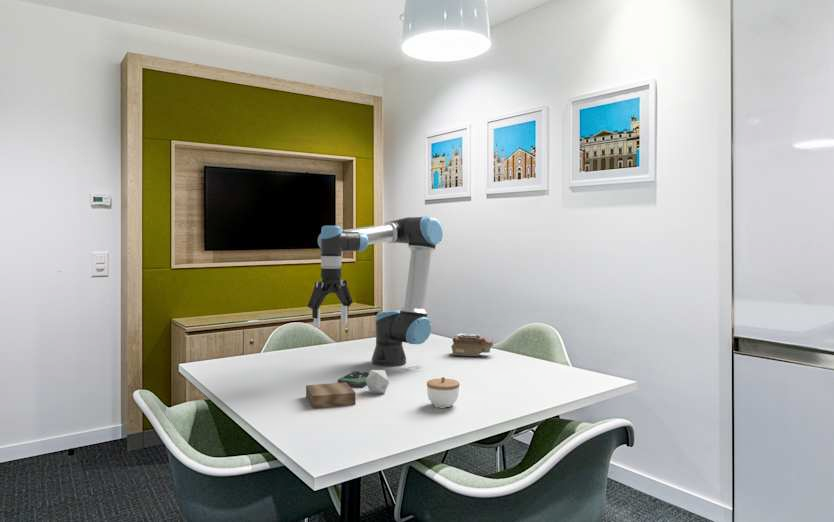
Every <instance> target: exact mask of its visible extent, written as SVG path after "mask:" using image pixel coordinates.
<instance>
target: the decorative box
mask: <svg viewBox="0 0 834 522" xmlns="http://www.w3.org/2000/svg"><path fill="white" fill-rule="evenodd" d="M452 342H453V343H452V345H451V351H452V355H453V356H461V357H462V356H463V357H479V355H480V354H483V353H491V352H490V351H491V348H492V347H493V346H494V340H493V339H488V338H487V337H486V336H482V335H481V334H479V333H469V332H466V333H458V334H456V336H455V337H453V338H452Z"/></svg>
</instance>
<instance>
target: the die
mask: <svg viewBox="0 0 834 522" xmlns="http://www.w3.org/2000/svg"><path fill="white" fill-rule="evenodd" d="M386 372H387V371H386V370H385V369H370V371H369V372H368V373H369V375H368V377H367V379H366V383H367V386H366V387H367V388H368V391H369V394H383V395H384V394H385V393H386V391H387V389H388V386H389V385H390V380H389V377H388V375H387V373H386Z"/></svg>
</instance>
